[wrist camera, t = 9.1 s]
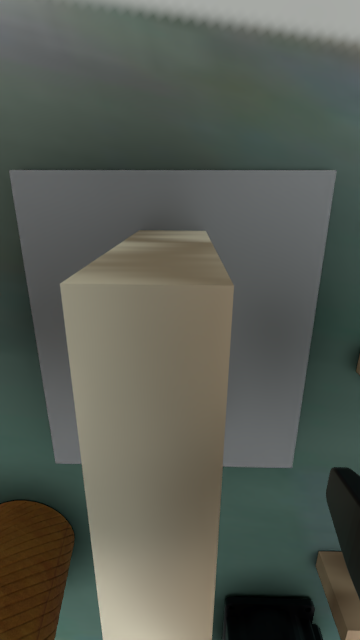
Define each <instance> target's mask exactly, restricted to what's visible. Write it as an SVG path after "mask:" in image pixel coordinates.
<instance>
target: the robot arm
mask: <svg viewBox="0 0 360 640" xmlns="http://www.w3.org/2000/svg"><path fill="white" fill-rule="evenodd" d="M326 499H327V503H328V506H329V510H330V513H331V517H332V520H333V523H334V527H335V530H336V533H337V537H338V540H339V544H340V547H341V550H342V554H343V557H344V560H345V563H346V566H347V569H348V572H349V575H350V577H351V580H352V582H353V585H354V587H355V590H356V592H357V595H358V597H359V600H360V476H359V475H358V474H356V473H355V472H354V471H353V470H351V469H349V468H345V467H334V468H332V469H331V471H330V475H329V480H328V485H327V490H326ZM314 611H315V608H314V605H313V602H312V601H311V600H309V599H283V598H248V597H229V598H226V599H225V603H224V616H223V629H222V640H323V638H322V634H321V631H320V628H319V627H318V626H317V625H316V624H312V620H313V616H314Z"/></svg>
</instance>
